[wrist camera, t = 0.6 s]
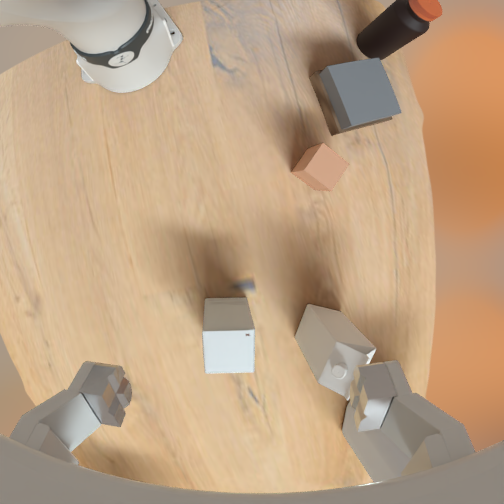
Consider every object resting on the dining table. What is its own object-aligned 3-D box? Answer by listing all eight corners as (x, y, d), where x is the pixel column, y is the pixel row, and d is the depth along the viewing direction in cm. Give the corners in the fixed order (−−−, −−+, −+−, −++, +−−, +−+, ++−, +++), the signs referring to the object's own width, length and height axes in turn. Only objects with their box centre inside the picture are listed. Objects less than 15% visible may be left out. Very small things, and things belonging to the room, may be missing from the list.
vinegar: (380, 67, 47) (442, 30, 28) (351, 46, 46) (405, -1, 27) (391, 45, 47) (450, 6, 27) (363, 25, 45) (416, -22, 26)
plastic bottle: (347, 392, 61) (404, 483, 34) (404, 379, 62) (470, 452, 35) (338, 437, 64) (380, 523, 37) (391, 424, 66) (442, 496, 38)
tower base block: (308, 78, 47) (315, 71, 43) (360, 68, 48) (370, 62, 44) (330, 136, 50) (339, 132, 46) (381, 122, 50) (392, 119, 46)
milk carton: (341, 311, 56) (389, 361, 38) (327, 343, 57) (367, 402, 39) (307, 302, 55) (347, 355, 37) (294, 337, 56) (325, 398, 38)
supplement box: (204, 297, 53) (201, 329, 41) (247, 296, 54) (256, 328, 41) (205, 335, 54) (203, 374, 42) (246, 334, 55) (255, 373, 43)
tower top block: (319, 74, 44) (327, 66, 40) (368, 65, 44) (379, 57, 40) (341, 129, 46) (351, 125, 42) (389, 116, 46) (401, 112, 42)
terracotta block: (290, 172, 50) (304, 170, 42) (307, 148, 50) (323, 142, 42) (314, 190, 51) (331, 191, 43) (330, 166, 51) (349, 163, 43)
